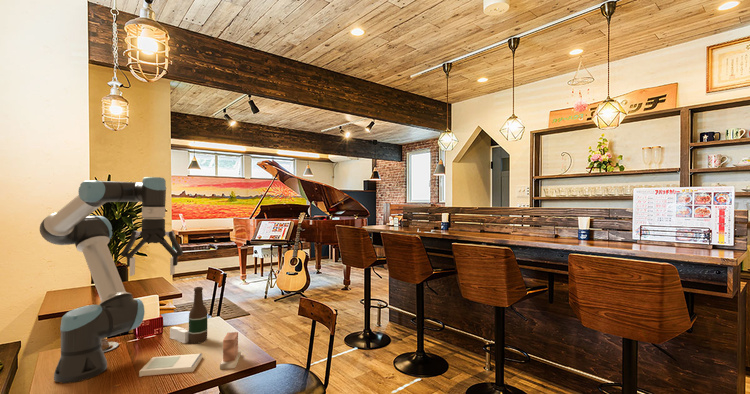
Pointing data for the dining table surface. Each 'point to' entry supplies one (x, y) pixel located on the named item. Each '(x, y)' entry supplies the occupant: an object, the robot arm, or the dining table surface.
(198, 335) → the beer bottle
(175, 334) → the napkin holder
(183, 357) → the white flat block
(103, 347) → the pastry
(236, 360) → the stub
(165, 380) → the dining table surface
